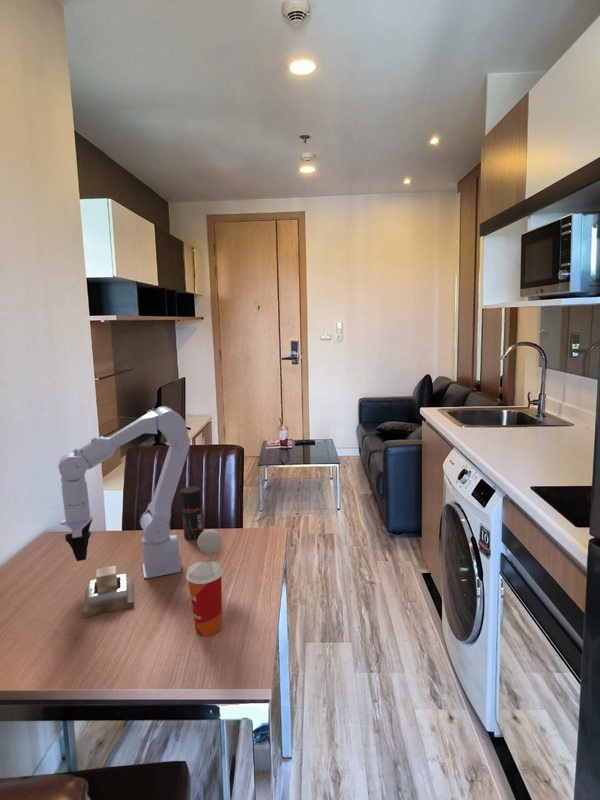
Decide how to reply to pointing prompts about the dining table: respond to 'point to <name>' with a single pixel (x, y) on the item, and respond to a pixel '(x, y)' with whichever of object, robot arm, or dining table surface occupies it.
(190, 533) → the deodorant
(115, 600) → the collar board
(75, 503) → the robot arm
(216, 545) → the lollipop
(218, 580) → the paper cup
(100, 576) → the sleeve block
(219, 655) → the dining table surface
